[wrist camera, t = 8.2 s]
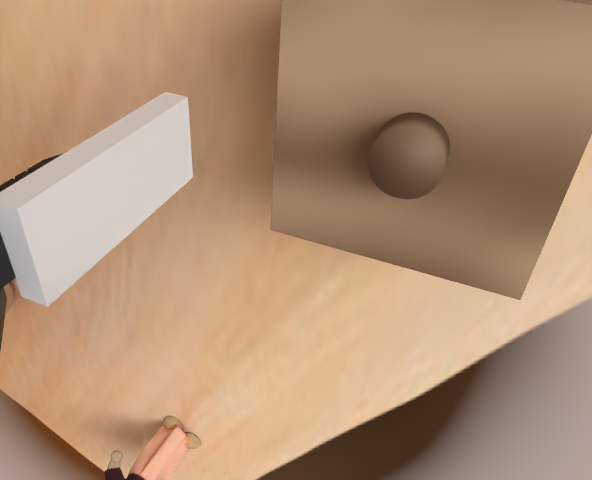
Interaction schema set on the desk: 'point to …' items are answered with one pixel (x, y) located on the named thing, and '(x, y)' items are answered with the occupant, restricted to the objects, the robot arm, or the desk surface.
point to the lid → (432, 130)
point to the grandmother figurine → (157, 454)
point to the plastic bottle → (9, 296)
